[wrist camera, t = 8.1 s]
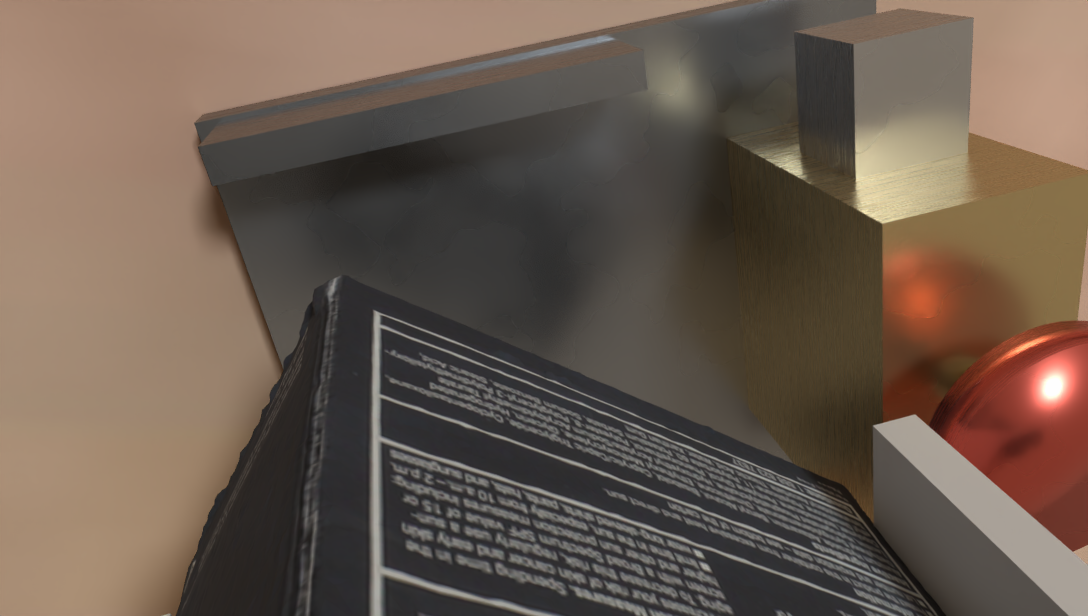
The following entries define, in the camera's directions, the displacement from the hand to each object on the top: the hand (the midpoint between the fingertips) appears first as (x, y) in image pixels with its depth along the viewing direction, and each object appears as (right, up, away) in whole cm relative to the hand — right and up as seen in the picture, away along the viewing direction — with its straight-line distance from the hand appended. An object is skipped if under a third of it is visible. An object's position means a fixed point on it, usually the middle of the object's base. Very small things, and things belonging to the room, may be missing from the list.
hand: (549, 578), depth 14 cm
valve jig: (+1, +5, +9) cm, 10 cm away
